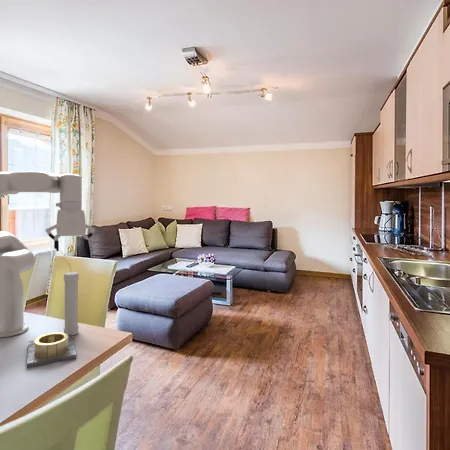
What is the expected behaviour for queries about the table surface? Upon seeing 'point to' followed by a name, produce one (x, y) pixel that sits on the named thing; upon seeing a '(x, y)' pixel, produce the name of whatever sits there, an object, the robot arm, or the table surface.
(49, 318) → the table surface
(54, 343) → the fitting base
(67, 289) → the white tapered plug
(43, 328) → the table surface
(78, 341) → the table surface
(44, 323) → the table surface
